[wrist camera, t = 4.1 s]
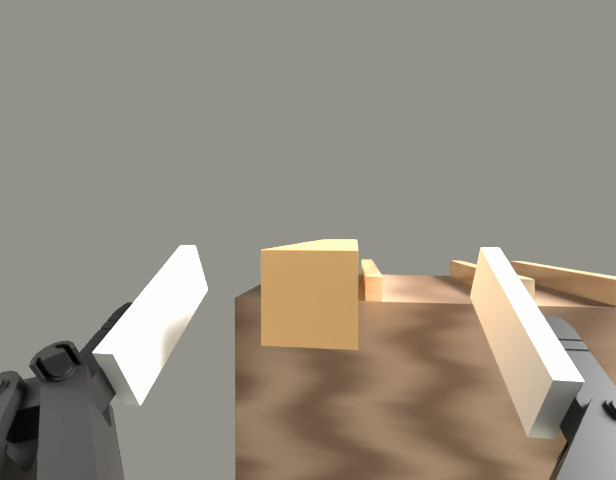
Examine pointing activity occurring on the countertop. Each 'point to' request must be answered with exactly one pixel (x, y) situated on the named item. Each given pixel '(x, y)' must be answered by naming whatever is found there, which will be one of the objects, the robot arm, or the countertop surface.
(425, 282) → the brown patterned box
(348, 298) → the bar
